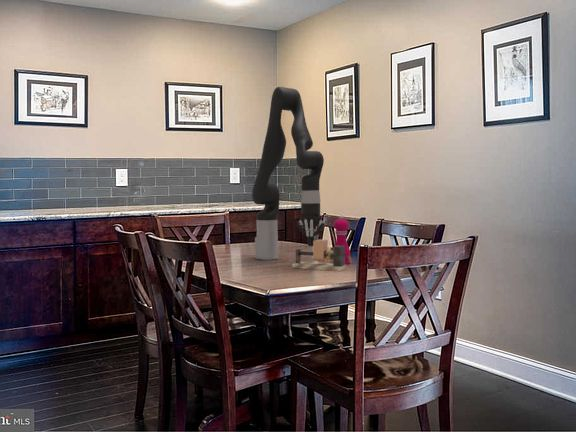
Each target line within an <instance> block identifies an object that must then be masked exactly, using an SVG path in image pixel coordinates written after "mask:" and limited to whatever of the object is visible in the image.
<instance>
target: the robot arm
mask: <svg viewBox="0 0 576 432" xmlns="http://www.w3.org/2000/svg"><path fill="white" fill-rule="evenodd" d="M283 111H287V112H291V113H292V116H293V122H292V126H291V129H290V130H291V131H290V134H291V138H292V140H293V143H294V147H295V153H296V164H297V166H298V167H299V168H300V169H302V170H310V173H309V174H307V175H304V176H302V177H301V193H300V202H301V203H300V210H301V211H300V213H301V215H300V220H299V221H297V222H295V226H296V227H297V228H298V230H299V232H300V233H301V234H302V236H306V244H307V246H308V247H313V241H314V240H316V236H318V235H320V234H321V233H322V232H323V230H324V229H325V228H326V226H327V222H324V221H323V220H322V217H321V191H320V179H321V174H322V171H323V166H324V161H325V160H324V155H323V154H322V153H321V152H320V151H317V150H310V149H311V148H312V147H313V146H314V142H313V139H312V137H311V133H310V131H309V128H308V126H307V122H306V117H305V112H304V106H303V101H302V97H301V93H300V92H299V90H297V89H295V88H291V87H284V86H277V87H276V88H274V90H273V92H272V95H271V101H270V109H269V117H268V118H269V119H268V123H267V127H266V128H267V129H266V133H265V138H264V142H263V148H262V154H261V158H260V163H259V167H258V171H257V175H256V178H255V181H254V183H253V187H252V191H251V197H252V201H253V203H254V204H255V205H260V206H261V205H262V206H263V205H264V207H263V209H262V210H261V211H259V212H258V213H257V214H256V216H255V217H256V236H255V237H254V252H255V253H254V255H255V256H254V258H255V259H256V260H266V261H270V260H276V259H279V251H278V249H279V247H278V246H279V245H278V243H279V242H278V241H279V240H278V238H279V237H278V236H279V234H278V232H279V230H278V229H279V228H278V215H279V213H280V190H279V186H278V185H277V184H276V183H272V182H271V183H269V181H270V178H271V176H272V174H273V172H274V171H275V170H276V168H277V167H278V166H279V164H280V163H281V162H282V160H283V158H284V155H285V151H286V146H287V140H286V136H285V132H284V130H283V129H284V128H283V127H282V112H283Z"/></svg>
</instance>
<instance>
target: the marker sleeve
mask: <svg viewBox="0 0 576 432" xmlns="http://www.w3.org/2000/svg"><path fill="white" fill-rule="evenodd" d="M328 243H329V242H328V239H315V240H314V241H313V246H312V249H313V250H312V252H313V256H312V257H313V258H312V261H313V262H314V261H315V262H325V261H327V260H329V259H328V257H327V256H324V253H328V251H329V249H328V248H329V245H328Z"/></svg>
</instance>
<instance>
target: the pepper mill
mask: <svg viewBox="0 0 576 432" xmlns="http://www.w3.org/2000/svg"><path fill="white" fill-rule="evenodd" d="M333 223H334V224H333V228H334V230H335V231H334V233H335V234H334V235H336V241H335V244H334V246H345V265H348V264H350V258H349V257H350V255H351V250H350V247H349V245H348V243H347V234H348V228H349V221H348V220H346V219H345V218H344V215H342V214H340V215H339V216H338V219H336V220H335V221H334V222H333Z"/></svg>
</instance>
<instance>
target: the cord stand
mask: <svg viewBox="0 0 576 432" xmlns="http://www.w3.org/2000/svg"><path fill="white" fill-rule="evenodd" d="M332 247H333V249H328V253H324V256H327V257H328V260H333V261H332V262H333V263H325V262H314V261H313V262H312V261H311V262H310V261H302V260H301V258H302V257H301V256H310V257H311V256H312V257H313V251H301V250H302V249H301V248H296V249H295V263H292V267H291V268H292V269H302V270H303V269H305V270H319V271H332V272H340V271H343V270H346V269H347V264H345V246H335V245H334V246H332Z"/></svg>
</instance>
